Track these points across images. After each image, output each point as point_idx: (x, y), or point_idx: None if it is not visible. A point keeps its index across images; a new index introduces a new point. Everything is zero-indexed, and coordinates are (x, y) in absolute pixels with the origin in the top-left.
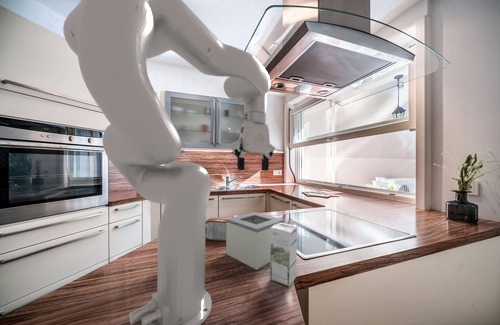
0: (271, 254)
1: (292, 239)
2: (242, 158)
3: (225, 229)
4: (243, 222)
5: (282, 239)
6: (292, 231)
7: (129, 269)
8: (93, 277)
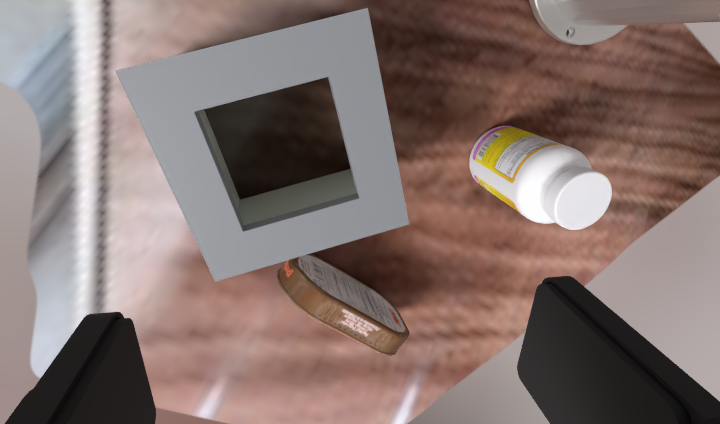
0: None
1: None
2: (713, 416)
3: (336, 287)
4: (368, 141)
5: None
6: None
7: (606, 209)
8: (665, 208)
